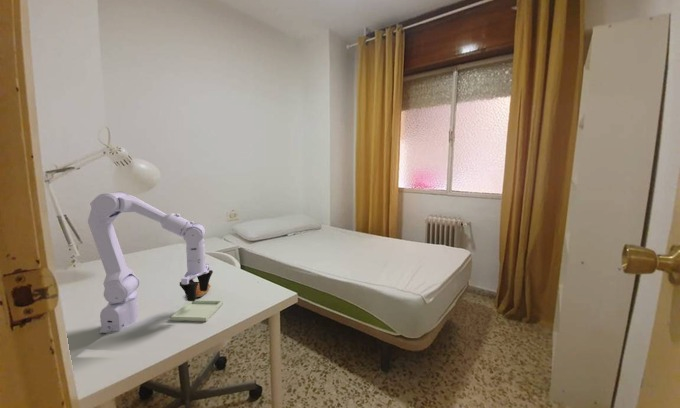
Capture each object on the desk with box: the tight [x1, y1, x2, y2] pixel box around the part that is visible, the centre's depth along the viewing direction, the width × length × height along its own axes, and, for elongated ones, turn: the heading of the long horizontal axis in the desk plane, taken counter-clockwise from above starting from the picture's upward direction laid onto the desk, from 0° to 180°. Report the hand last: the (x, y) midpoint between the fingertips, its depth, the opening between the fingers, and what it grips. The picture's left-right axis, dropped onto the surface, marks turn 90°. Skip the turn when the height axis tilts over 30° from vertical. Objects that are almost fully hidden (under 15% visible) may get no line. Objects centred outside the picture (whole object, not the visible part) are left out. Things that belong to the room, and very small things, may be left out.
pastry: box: [196, 283, 211, 298], centre depth 108 cm, size 9×7×4 cm
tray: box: [170, 299, 224, 323], centre depth 94 cm, size 12×12×2 cm
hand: (198, 295), depth 93 cm, fingers open, 7 cm apart
